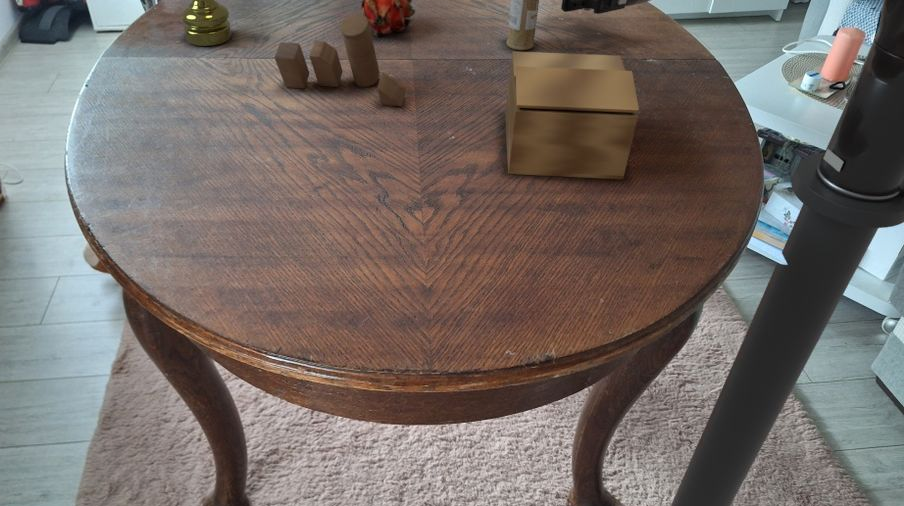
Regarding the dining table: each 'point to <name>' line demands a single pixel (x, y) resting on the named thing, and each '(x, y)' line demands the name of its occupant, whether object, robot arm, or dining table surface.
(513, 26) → the sprinkles bottle
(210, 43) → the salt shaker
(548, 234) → the dining table surface
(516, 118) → the carton
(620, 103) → the flap
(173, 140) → the dining table surface
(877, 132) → the robot arm
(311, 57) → the wooden block set
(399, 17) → the dragon fruit
